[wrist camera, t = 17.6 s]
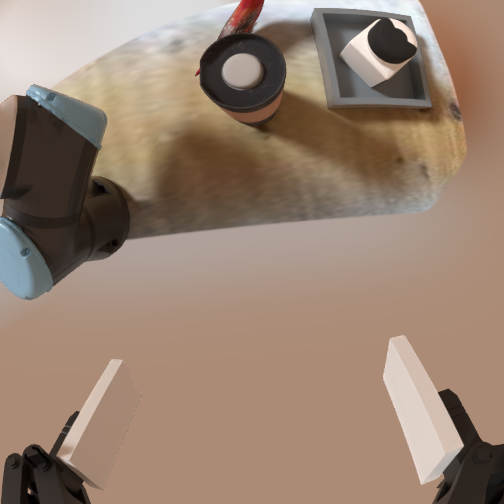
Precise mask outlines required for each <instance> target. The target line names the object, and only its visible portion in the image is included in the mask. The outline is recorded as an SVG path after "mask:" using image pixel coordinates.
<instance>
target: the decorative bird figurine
mask: <svg viewBox="0 0 504 504" xmlns="http://www.w3.org/2000/svg"><path fill="white" fill-rule="evenodd" d="M263 4H264V0H242V1H241V2H240V4H239V5H238V7H237V8H236V9H235V11H234V12H233V14H232V15H231V17H230V18H229V20H228V21H227V23H226V24H225V26H224V28H223V30H222V32H221V33H220V35H219V37H218V39H217V40H219V39H220V38H222V37H224V36H227V35H230V34H235V33H248V31H249V30H250V29H251V27H252V26H253V25H254V23H255V22H256V20H257V18H258V16H259V14H260V12H261V10H262V7H263ZM199 73H200V68H199V70H198V71H197V73H196V75H195V76H197V75H198V74H199Z"/></svg>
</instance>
